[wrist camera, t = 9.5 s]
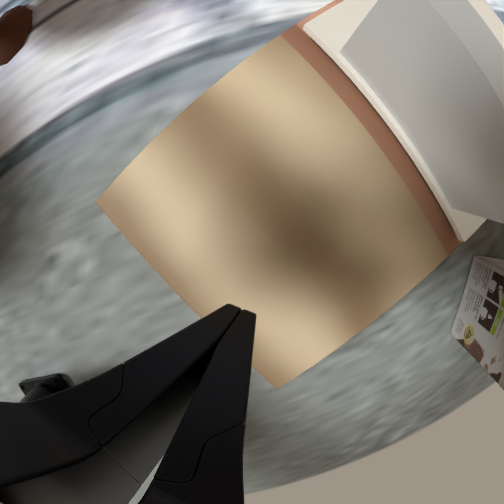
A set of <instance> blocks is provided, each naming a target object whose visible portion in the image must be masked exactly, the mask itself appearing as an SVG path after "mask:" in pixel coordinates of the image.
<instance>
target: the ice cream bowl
mask: <svg viewBox="0 0 504 504" xmlns="http://www.w3.org/2000/svg"><path fill="white" fill-rule="evenodd" d="M31 27H32V10H30V9H28V8H27V7H25V6H17V7H14V8H12V9H10V10H8V11H6V12H5V13H4V14H3V15H2V16H1V17H0V66H1V65H4V64H6V63H8V62H9V61H10V60H11V59H12V57H13V56H14V55H15V54H16V53H17V52H18V51H19V50H20V49H21V48H22V46H23V44H24V42H25V40H26V38H27V35H28V33H29V31H30V29H31Z"/></svg>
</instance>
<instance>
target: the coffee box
mask: <svg viewBox="0 0 504 504" xmlns="http://www.w3.org/2000/svg"><path fill="white" fill-rule="evenodd" d="M451 334H452V336H453V337H454V338H455V339H456V340H457V341H458V342H459V343H460V344H461V345H462V346H463V347H464V348H465V349H466V350H467V351H468V352H469V353H470V354H471V355H472V356H473V357H474V358H475V359H476V360H477V362H478V363H479V364H480V365H481V366H482V367H483V368H484V369H485V370H486V371H487V373H488V374H489V375H490V376H491V377H492V378H493V379H494V380H495V381H496V382H497V383H498V384H499V385H500V387H501V388H502V389H503V390H504V259H497V258H491V257H484V256H478V255H475V256H474V257H473V261H472V265H471V268H470V272H469V276H468V280H467V283H466V286H465V290H464V293H463V296H462V300H461V303H460V306H459V309H458V312H457V315H456V318H455V321H454V323H453V326H452V329H451Z"/></svg>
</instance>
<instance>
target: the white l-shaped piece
mask: <svg viewBox="0 0 504 504" xmlns="http://www.w3.org/2000/svg"><path fill="white" fill-rule="evenodd" d="M303 30H304V31H305V32H306V33H307V34H308V35H309V36H310V37H311V38H312V39H313V40H314V41H315V42H316V43H317V44H318V45H319V46H320V47H321V48H322V49H323V50H324V51H325V52H326V53H327V54H328V55H329V56H330V57H331V58H332V59H333V60H334V62H335V63H336V64H337V65H338V66H339V67H340V68H341V69H342V70H343V71H344V73H345V74H346V75H347V76H348V77H349V78H350V79H351V80H352V82H353V83H354V84H355V85H356V86H357V87H358V89H359V90H360V91H361V92H362V93H363V95H364V96H365V97H366V98H367V99H368V101H369V102H370V103H371V104H372V106H373V107H374V108H375V109H376V111H377V112H378V113H379V115H380V116H381V117H382V118H383V120H384V121H385V122H386V124H387V125H388V126H389V128H390V129H391V130H392V132H393V133H394V135H395V136H396V137H397V139H398V140H399V142H400V143H401V144H402V146H403V147H404V149H405V150H406V152H407V153H408V155H409V156H410V158H411V159H412V160H413V162H414V164H415V165H416V167H417V168H418V170H419V171H420V173H421V174H422V176H423V178H424V179H425V181H426V182H427V184H428V186H429V187H430V189H431V191H432V192H433V194H434V196H435V197H436V199H437V201H438V202H439V204H440V206H441V208H442V209H443V211H444V213H445V215H446V217H447V218H448V220H449V222H450V224H451V226H452V228H453V230H454V232H455V234H456V236H457V237H458V239H459V240H461V241H463V242H465V241H466V240H467V239H468V238H469V237H470V236H471V235H472V234H473V233H474V232H475V231H476V230H477V229H478V228H479V227H480V226H481V225H482V224H483V223H484V222H485V221H486V220H487V219H489V220H493V221H496V222H499V223H502V224H504V25H503V23H502V22H501V21H500V19H499V18H498V16H497V15H496V14H495V12H494V11H493V10H492V8H491V7H490V6H489V5H488V3H487V2H486V1H485V0H344V1H342V2H340V3H339V4H337V5H335V6H333V7H332V8H330V9H328V10H327V11H325V12H323V13H322V14H320V15H318V16H317V17H315V18H313V19H312V20H310V21H309V22H307V23H306V24H304V27H303Z"/></svg>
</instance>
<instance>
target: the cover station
mask: <svg viewBox="0 0 504 504" xmlns="http://www.w3.org/2000/svg"><path fill="white" fill-rule="evenodd" d="M342 1H344V0H335V1H333V2H331V3H330V4H328V5H326V6H325V7H323V8H321V9H319V10H318V11H316V12H314V13H313V14H311V15H310V16H308V17H306V18H305V19H303V20H302V21H300V22H298V23H297V24H295V25H294V26H292V27H291V28H289V29H288V30H286V31H285V32H283V33H282V34H280V35H279V36H277V37H276V38H274V39H273V40H272V41H270V42H269V43H267V44H266V45H265V46H263V47H262V48H260V49H259V50H258V51H256V52H255V53H254V54H252V55H251V56H249V57H248V58H247V59H246V60H244V61H243V62H242V63H240V64H239V65H238V66H236V67H235V68H234V69H233V70H231V71H230V72H229V73H227V74H226V75H225V76H224V77H223V78H221V79H220V80H219V81H218V82H216V83H215V84H214V85H213V86H212V87H210V88H209V89H208V90H207V91H206V92H204V93H203V94H202V95H201V96H200V97H199V98H198V99H196V100H195V101H194V102H193V103H192V104H191V105H190V106H188V107H187V108H186V109H185V110H184V111H183V112H182V113H181V114H180V115H179V116H177V117H176V118H175V119H174V120H173V121H172V122H171V123H170V124H169V125H168V126H167V127H166V128H165V129H164V130H163V131H162V132H161V133H160V134H158V135H157V136H156V137H155V138H154V139H153V140H152V141H151V142H150V143H149V144H148V145H147V146H146V147H145V148H144V149H143V150H142V151H141V153H140V154H139V155H138V156H137V157H136V158H135V159H134V160H133V161H132V162H131V163H130V164H129V165H128V166H127V167H126V168H125V169H124V170H123V172H122V173H121V174H120V175H119V176H118V177H117V178H116V179H115V180H114V182H113V183H112V184H111V185H110V186H109V187H108V188H107V189H106V191H105V192H104V193H103V194H102V195H101V196H100V198H99V199H98V200H97V201H96V203H97V204H98V206H99V207H100V208H101V209H102V210H103V212H104V213H105V214H106V215H107V216H108V217H109V219H110V220H111V221H112V222H113V223H114V225H115V226H116V227H117V228H118V229H119V230H120V231H121V233H122V234H123V235H124V236H125V237H126V238H127V240H128V241H129V242H130V243H131V244H132V245H133V246H134V247H135V249H136V250H137V251H138V252H139V253H140V254H141V255H142V256H143V257H144V259H145V260H146V261H147V262H148V263H149V264H150V265H151V266H152V267H153V268H154V269H155V271H156V272H157V273H158V274H159V275H160V276H161V277H162V278H163V279H164V280H165V281H166V282H167V283H168V284H169V286H170V287H171V288H172V289H173V290H174V291H175V292H176V293H177V294H178V295H179V296H180V297H181V298H182V299H183V300H184V301H185V302H186V303H187V304H188V305H189V306H190V307H191V308H192V309H193V310H194V311H195V312H196V313H197V314H198V315H199V316H200V317H201V318H203V317H205V316H207V315H208V314H210V313H212V312H214V311H215V310H217V309H219V308H220V307H222V306H224V305H226V304H233V305H235V306H238V307H240V308H241V309H242V310H243V309H245V310H248V311H251V312H253V313H255V314H256V327H255V337H254V347H253V357H252V367H253V368H254V369H255V370H256V371H257V372H258V373H259V374H261V375H262V376H263V377H264V378H265V379H266V380H267V381H268V382H270V383H271V384H272V385H273V386H274V387H275V388H276V389H278V388H280V387H281V386H283V385H284V384H286V383H287V382H289V381H291V380H292V379H294V378H295V377H297V376H298V375H300V374H301V373H303V372H304V371H306V370H307V369H309V368H310V367H312V366H313V365H315V364H316V363H317V362H319V361H320V360H322V359H323V358H325V357H326V356H327V355H329V354H330V353H332V352H333V351H334V350H336V349H337V348H339V347H340V346H341V345H343V344H344V343H345V342H347V341H348V340H350V339H351V338H352V337H354V336H355V335H356V334H357V333H359V332H360V331H361V330H363V329H364V328H365V327H367V326H368V325H369V324H370V323H372V322H373V321H374V320H376V319H377V318H378V317H379V316H381V315H382V314H383V313H384V312H385V311H387V310H388V309H389V308H390V307H392V306H393V305H394V304H395V303H396V302H398V301H399V300H400V299H401V298H402V297H403V296H405V295H406V294H407V293H408V292H409V291H410V290H412V289H413V288H414V287H415V286H416V285H417V284H418V283H420V282H421V281H422V280H423V279H424V278H425V277H426V276H427V275H428V274H430V273H431V272H432V271H433V270H434V269H435V268H436V267H437V266H438V265H439V264H440V263H441V262H443V261H444V260H445V259H446V258H447V257H448V256H449V255H450V254H451V253H452V252H453V251H454V250H455V249H456V248H457V247H458V246H459V245H460V244H461V243H462V242H463V241H461V240H459V239H458V237H457V236H456V234H455V232H454V230H453V228H452V226H451V224H450V222H449V220H448V218H447V217H446V215H445V213H444V211H443V209H442V208H441V206H440V204H439V202H438V201H437V199H436V197H435V196H434V194H433V192H432V191H431V189H430V187H429V186H428V184H427V182H426V181H425V179H424V178H423V176H422V174H421V173H420V171H419V170H418V168H417V167H416V165H415V164H414V162H413V160H412V159H411V158H410V156H409V155H408V153H407V152H406V150H405V149H404V147H403V146H402V144H401V143H400V142H399V140H398V139H397V137H396V136H395V135H394V133H393V132H392V130H391V129H390V128H389V126H388V125H387V124H386V122H385V121H384V120H383V118H382V117H381V116H380V115H379V113H378V112H377V111H376V109H375V108H374V107H373V106H372V104H371V103H370V102H369V101H368V99H367V98H366V97H365V96H364V95H363V93H362V92H361V91H360V90H359V89H358V87H357V86H356V85H355V84H354V83H353V82H352V80H351V79H350V78H349V77H348V76H347V75H346V74H345V73H344V71H343V70H342V69H341V68H340V67H339V66H338V65H337V64H336V63H335V62H334V60H333V59H332V58H331V57H330V56H329V55H328V54H327V53H326V52H325V51H324V50H323V49H322V48H321V47H320V46H319V45H318V44H317V43H316V42H315V41H314V40H313V39H312V38H311V37H310V36H309V35H308V34H307V33H306V32H305V31H304V30H303V27H304V24H306V23H307V22H309V21H310V20H312V19H313V18H315V17H317V16H318V15H320V14H322V13H323V12H325V11H327V10H328V9H330V8H332V7H333V6H335V5H337V4H339V3H340V2H342Z"/></svg>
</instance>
